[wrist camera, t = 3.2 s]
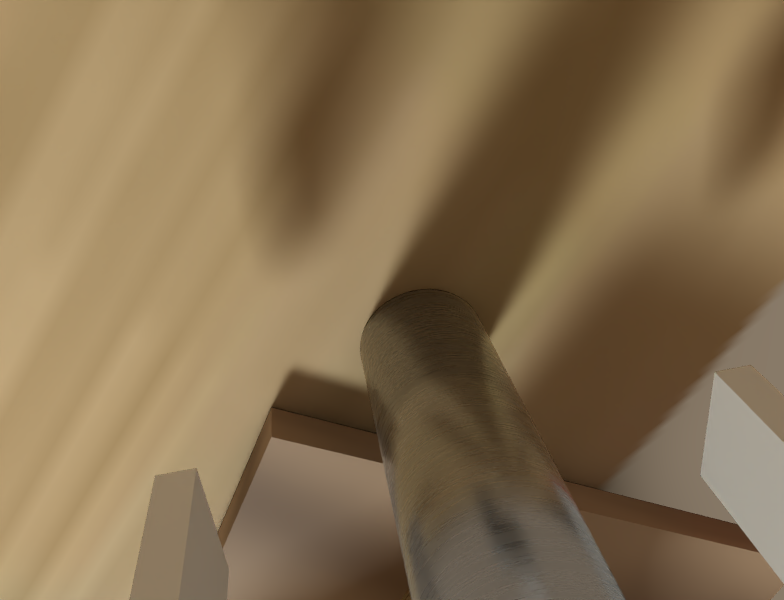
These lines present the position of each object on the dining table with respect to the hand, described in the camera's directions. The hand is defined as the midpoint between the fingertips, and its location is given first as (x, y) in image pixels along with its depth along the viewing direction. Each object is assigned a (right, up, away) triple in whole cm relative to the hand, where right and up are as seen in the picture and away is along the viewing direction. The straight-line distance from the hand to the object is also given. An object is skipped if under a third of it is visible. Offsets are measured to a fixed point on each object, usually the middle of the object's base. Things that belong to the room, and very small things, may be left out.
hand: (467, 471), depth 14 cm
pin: (-1, +2, +4) cm, 5 cm away
